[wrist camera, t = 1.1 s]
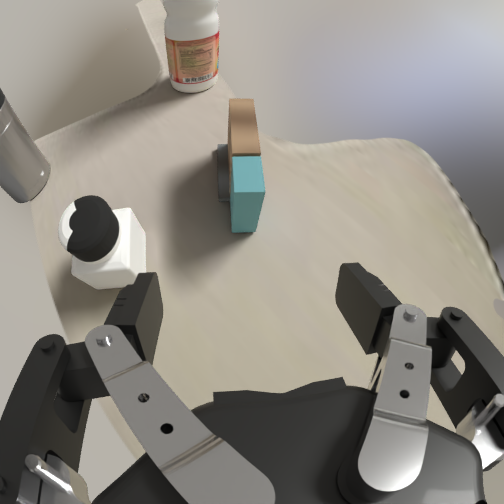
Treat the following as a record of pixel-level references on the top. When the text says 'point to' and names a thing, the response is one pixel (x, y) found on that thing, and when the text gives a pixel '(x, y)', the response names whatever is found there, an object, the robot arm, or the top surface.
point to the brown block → (237, 142)
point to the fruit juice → (192, 43)
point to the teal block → (246, 193)
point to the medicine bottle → (103, 243)
